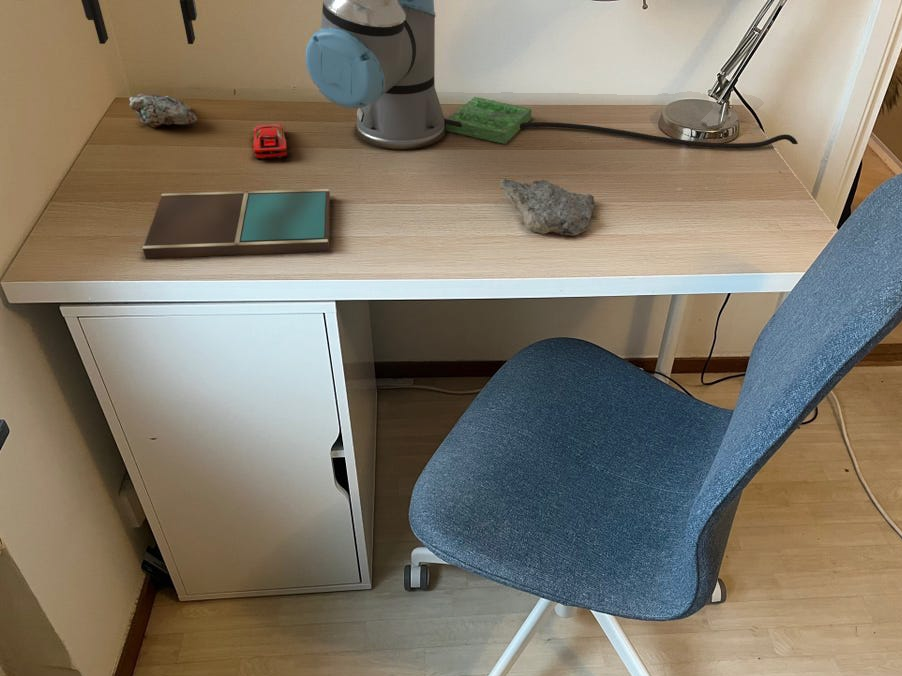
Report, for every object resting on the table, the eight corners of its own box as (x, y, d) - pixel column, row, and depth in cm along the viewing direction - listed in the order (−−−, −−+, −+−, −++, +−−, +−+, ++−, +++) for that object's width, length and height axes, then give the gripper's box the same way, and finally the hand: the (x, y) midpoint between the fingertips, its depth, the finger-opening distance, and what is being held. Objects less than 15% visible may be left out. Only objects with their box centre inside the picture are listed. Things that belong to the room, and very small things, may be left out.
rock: (578, 221, 106) (484, 184, 111) (570, 249, 108) (479, 211, 113) (613, 196, 116) (526, 163, 121) (606, 222, 119) (521, 189, 123)
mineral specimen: (144, 141, 129) (135, 105, 125) (125, 115, 136) (116, 81, 132) (202, 129, 133) (195, 95, 129) (181, 105, 140) (173, 71, 136)
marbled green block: (530, 119, 141) (531, 105, 139) (505, 144, 133) (505, 130, 131) (474, 107, 144) (475, 93, 143) (446, 130, 136) (446, 116, 134)
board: (330, 198, 117) (329, 188, 115) (328, 251, 106) (327, 241, 104) (164, 203, 114) (161, 193, 113) (145, 258, 103) (142, 248, 102)
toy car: (253, 132, 133) (250, 114, 130) (284, 130, 134) (282, 112, 132) (255, 163, 124) (252, 144, 122) (288, 161, 125) (286, 142, 123)
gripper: (205, -116, 116) (229, 33, 130) (27, -121, 113) (72, 33, 127) (198, -106, 110) (225, 49, 125) (11, -111, 107) (60, 49, 121)
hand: (148, 41), depth 126 cm, fingers open, 13 cm apart
